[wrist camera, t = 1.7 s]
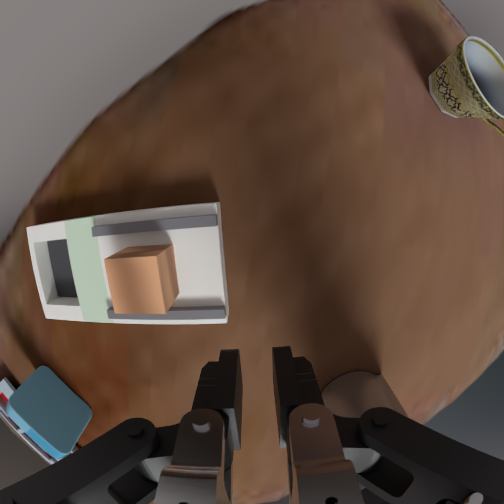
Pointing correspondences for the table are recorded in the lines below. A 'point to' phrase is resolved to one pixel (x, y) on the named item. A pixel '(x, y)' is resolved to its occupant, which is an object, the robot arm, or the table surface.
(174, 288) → the terracotta cube
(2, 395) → the maze game
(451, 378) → the table surface
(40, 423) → the blue square slab
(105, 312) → the tray
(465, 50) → the ceramic cup
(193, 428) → the robot arm
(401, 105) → the table surface
